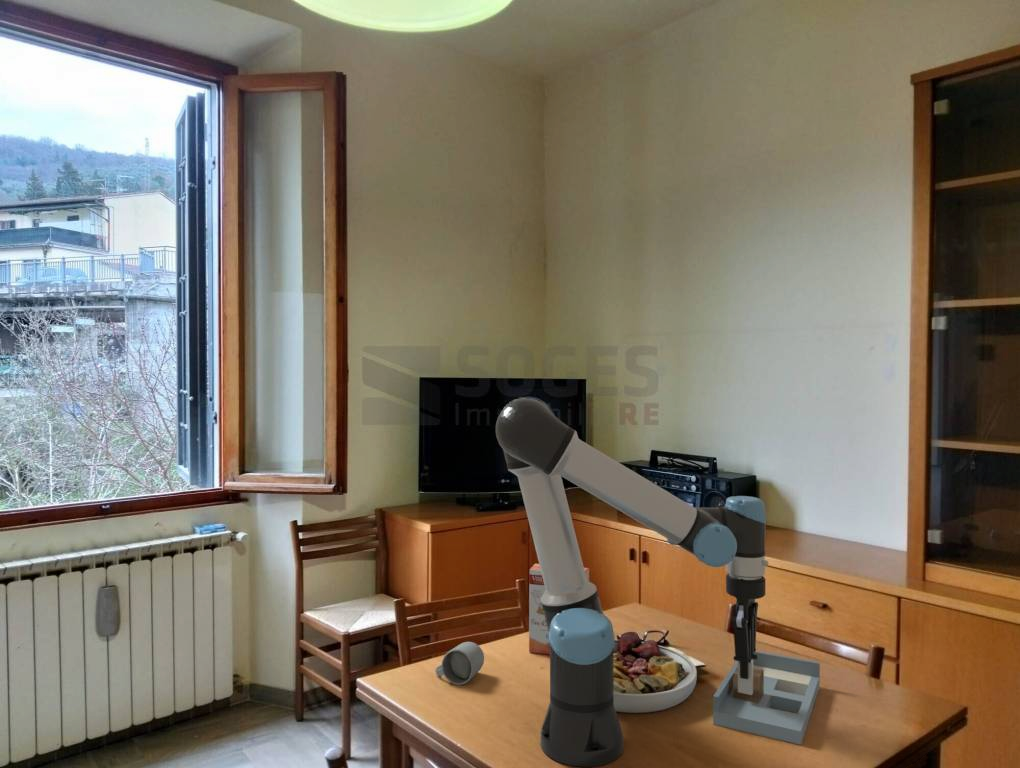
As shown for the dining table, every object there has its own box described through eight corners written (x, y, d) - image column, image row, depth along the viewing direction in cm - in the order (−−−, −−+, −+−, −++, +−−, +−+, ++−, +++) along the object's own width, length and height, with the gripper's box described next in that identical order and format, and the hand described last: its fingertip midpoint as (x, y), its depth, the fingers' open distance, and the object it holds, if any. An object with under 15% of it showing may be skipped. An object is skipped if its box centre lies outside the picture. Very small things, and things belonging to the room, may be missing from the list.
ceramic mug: (486, 672, 164) (485, 639, 164) (472, 687, 157) (472, 652, 157) (444, 667, 168) (443, 634, 168) (428, 681, 160) (428, 647, 160)
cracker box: (528, 653, 176) (528, 568, 175) (534, 644, 181) (534, 562, 181) (584, 660, 172) (584, 573, 171) (589, 651, 177) (589, 566, 177)
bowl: (700, 727, 140) (700, 686, 140) (547, 712, 146) (547, 673, 146) (693, 665, 169) (693, 632, 169) (566, 655, 175) (566, 623, 175)
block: (758, 703, 143) (758, 678, 143) (733, 697, 146) (733, 673, 146) (763, 693, 148) (763, 669, 148) (738, 688, 150) (738, 664, 150)
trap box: (800, 745, 132) (801, 715, 132) (713, 724, 140) (713, 696, 140) (819, 687, 156) (819, 662, 156) (743, 672, 164) (743, 648, 164)
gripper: (758, 585, 136) (758, 709, 136) (771, 569, 148) (771, 684, 148) (718, 580, 140) (718, 700, 140) (733, 565, 151) (733, 676, 151)
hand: (745, 692), depth 144 cm, fingers closed
